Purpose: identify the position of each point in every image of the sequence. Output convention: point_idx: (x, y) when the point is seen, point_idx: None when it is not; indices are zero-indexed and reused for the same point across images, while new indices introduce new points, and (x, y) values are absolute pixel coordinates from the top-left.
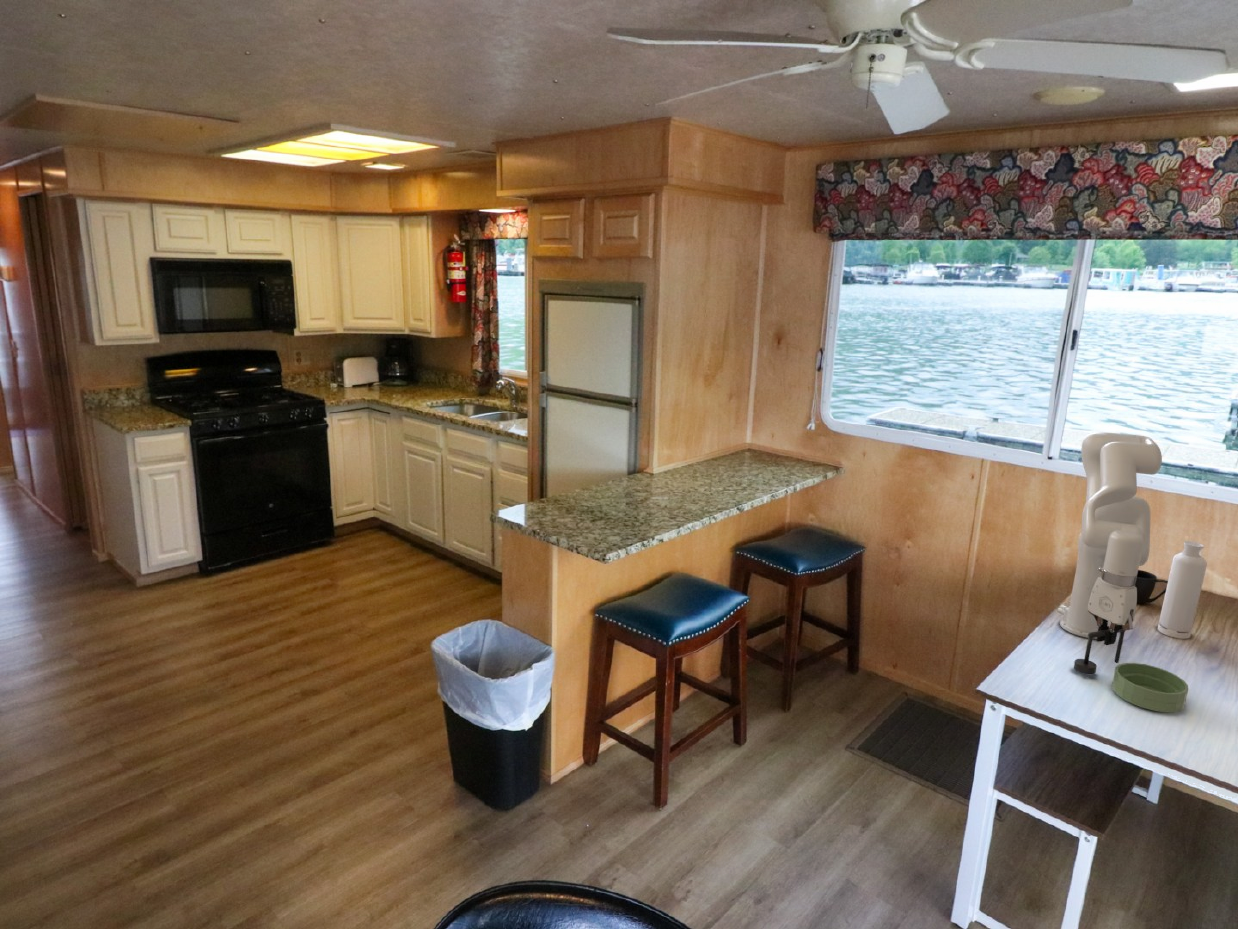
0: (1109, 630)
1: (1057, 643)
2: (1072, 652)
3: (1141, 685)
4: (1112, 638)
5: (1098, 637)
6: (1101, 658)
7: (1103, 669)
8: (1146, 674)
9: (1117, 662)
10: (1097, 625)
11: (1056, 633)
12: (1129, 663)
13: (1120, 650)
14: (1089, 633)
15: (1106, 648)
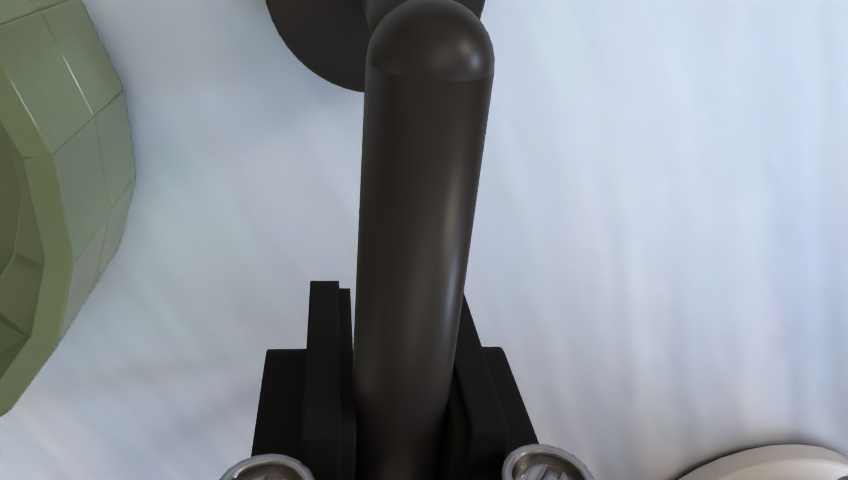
0: (301, 474)
1: (773, 256)
2: (640, 238)
3: (9, 239)
4: (259, 401)
5: None
6: None
7: (358, 219)
8: (11, 348)
9: None
10: (562, 454)
11: (832, 369)
12: (48, 285)
13: None
14: (466, 40)
15: None
